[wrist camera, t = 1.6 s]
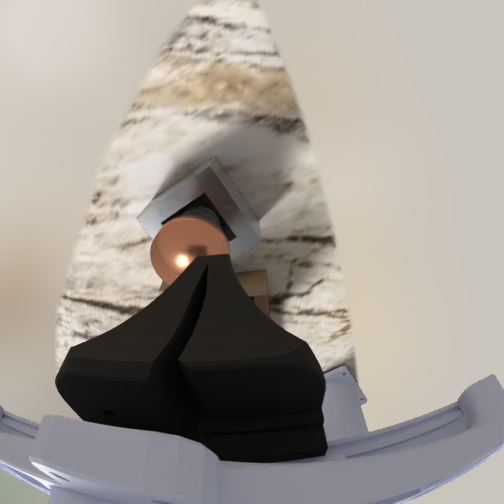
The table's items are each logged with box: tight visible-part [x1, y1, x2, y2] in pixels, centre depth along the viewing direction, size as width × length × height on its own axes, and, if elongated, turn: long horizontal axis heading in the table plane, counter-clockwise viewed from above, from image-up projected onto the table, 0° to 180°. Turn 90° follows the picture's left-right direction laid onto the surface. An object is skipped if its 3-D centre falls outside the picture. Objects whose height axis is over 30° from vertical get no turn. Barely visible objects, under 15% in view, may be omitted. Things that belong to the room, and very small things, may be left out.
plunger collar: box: [136, 157, 262, 260], centre depth 17 cm, size 5×5×3 cm
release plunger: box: [150, 206, 230, 285], centre depth 14 cm, size 4×4×4 cm
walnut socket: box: [159, 270, 270, 318], centre depth 21 cm, size 7×7×2 cm
